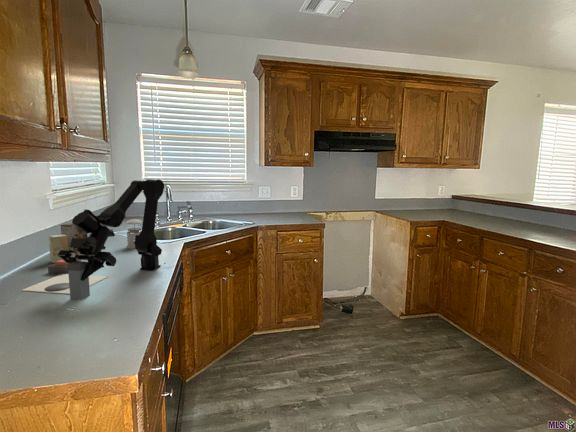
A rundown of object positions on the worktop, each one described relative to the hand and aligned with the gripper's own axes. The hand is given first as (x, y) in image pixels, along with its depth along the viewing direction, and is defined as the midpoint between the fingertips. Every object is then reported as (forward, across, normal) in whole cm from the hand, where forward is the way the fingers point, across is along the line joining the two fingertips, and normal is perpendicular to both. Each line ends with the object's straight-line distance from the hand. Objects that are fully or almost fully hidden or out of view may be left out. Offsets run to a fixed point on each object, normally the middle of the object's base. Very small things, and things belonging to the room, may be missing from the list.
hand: (75, 279), depth 109 cm
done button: (-14, -27, +22) cm, 37 cm away
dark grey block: (+4, 0, +6) cm, 7 cm away
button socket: (-13, -27, +23) cm, 38 cm away
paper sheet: (-4, -14, +13) cm, 20 cm away
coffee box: (-29, -40, +38) cm, 62 cm away
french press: (-46, -23, +55) cm, 75 cm away
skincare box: (-22, -40, +31) cm, 55 cm away
